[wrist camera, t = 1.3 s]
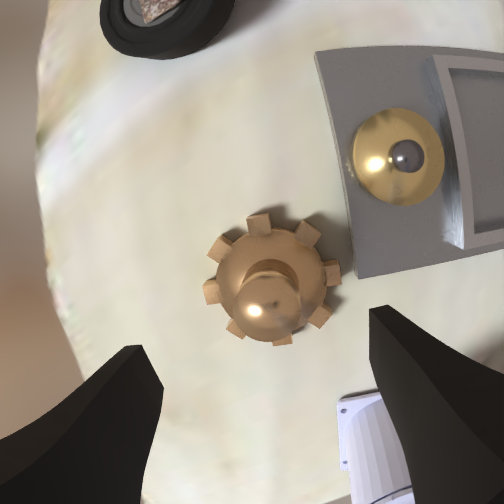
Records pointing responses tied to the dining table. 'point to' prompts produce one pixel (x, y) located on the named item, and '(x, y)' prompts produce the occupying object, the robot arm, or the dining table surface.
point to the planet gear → (271, 280)
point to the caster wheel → (162, 25)
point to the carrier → (417, 152)
